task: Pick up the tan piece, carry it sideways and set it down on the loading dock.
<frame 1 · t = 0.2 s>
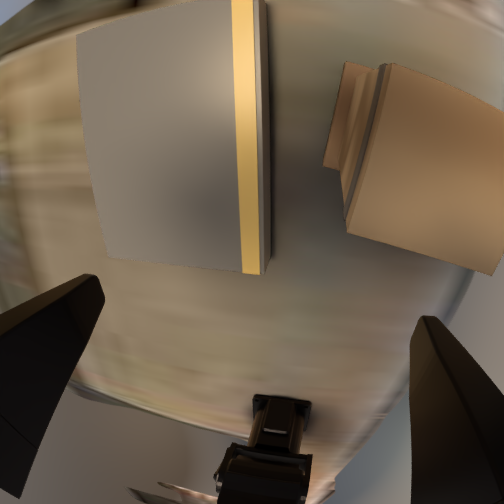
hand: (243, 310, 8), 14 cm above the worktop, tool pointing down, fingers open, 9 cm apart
tan piece: (387, 127, 18), on the worktop
loading dock: (177, 136, 21), on the worktop
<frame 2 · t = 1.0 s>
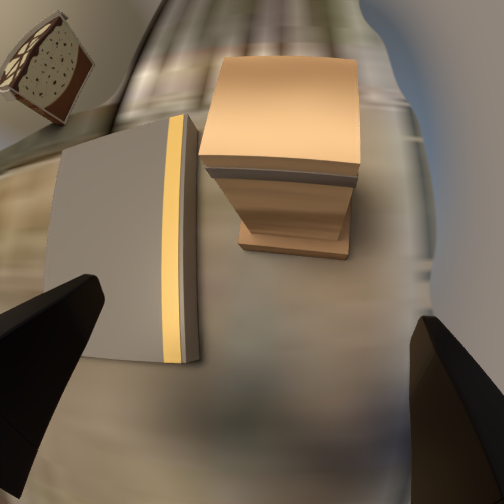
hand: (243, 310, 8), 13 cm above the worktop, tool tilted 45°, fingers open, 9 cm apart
tan piece: (298, 209, 22), on the worktop
loading dock: (121, 242, 24), on the worktop
food container: (64, 97, 31), on the worktop
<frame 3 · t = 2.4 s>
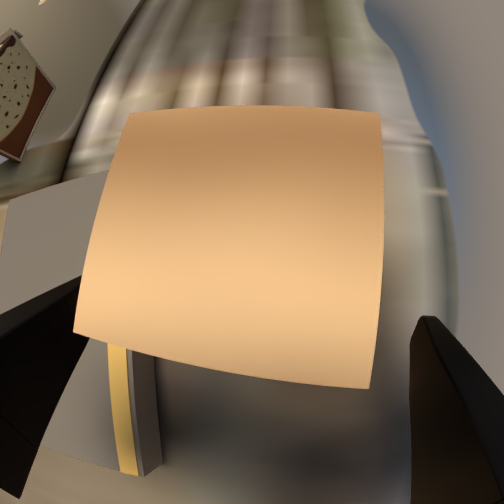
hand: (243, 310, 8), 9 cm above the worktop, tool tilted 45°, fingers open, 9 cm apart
tan piece: (281, 296, 17), on the worktop
loading dock: (72, 319, 19), on the worktop
food container: (24, 127, 26), on the worktop
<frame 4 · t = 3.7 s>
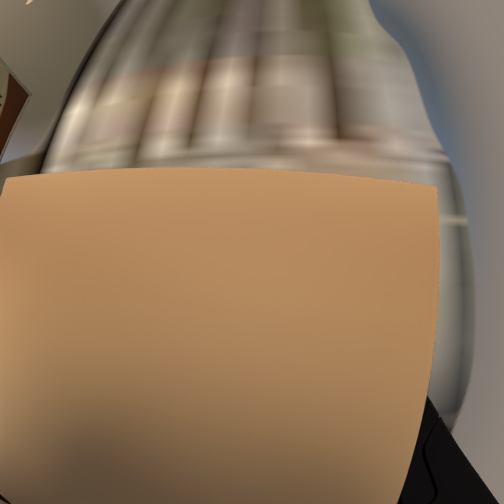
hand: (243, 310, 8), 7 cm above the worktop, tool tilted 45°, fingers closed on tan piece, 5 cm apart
tan piece: (268, 348, 14), on the worktop, touching gripper
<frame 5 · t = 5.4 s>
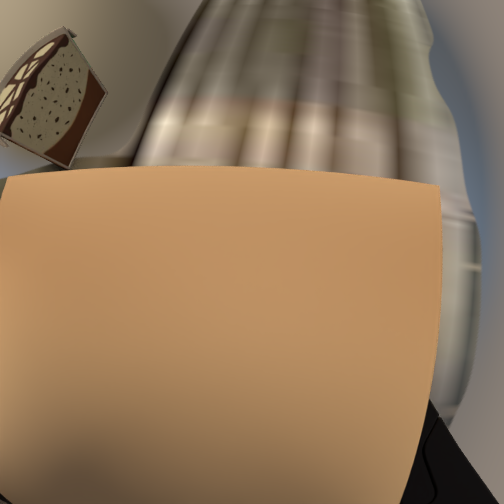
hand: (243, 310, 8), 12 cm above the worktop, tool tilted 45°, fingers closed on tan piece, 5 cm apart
tan piece: (269, 348, 14), point 6 cm above the worktop, touching gripper
food container: (71, 130, 28), on the worktop
when the fingers open (10 cm above the worktop, at t = 7.0 s): tan piece drops 1 cm, resting on loading dock.
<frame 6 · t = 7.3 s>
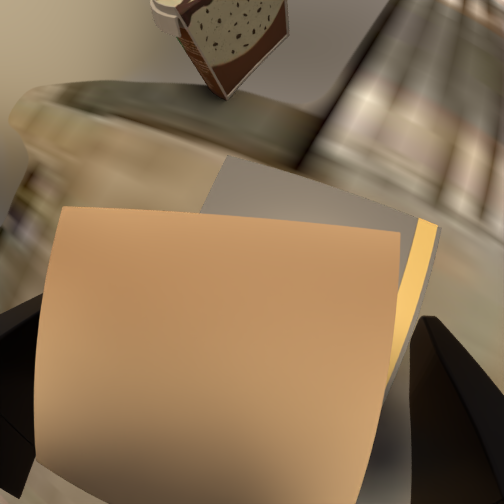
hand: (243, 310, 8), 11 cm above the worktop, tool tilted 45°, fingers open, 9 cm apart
tan piece: (272, 346, 15), point 2 cm above the worktop, touching loading dock
loading dock: (276, 344, 18), on the worktop
food container: (232, 57, 24), on the worktop
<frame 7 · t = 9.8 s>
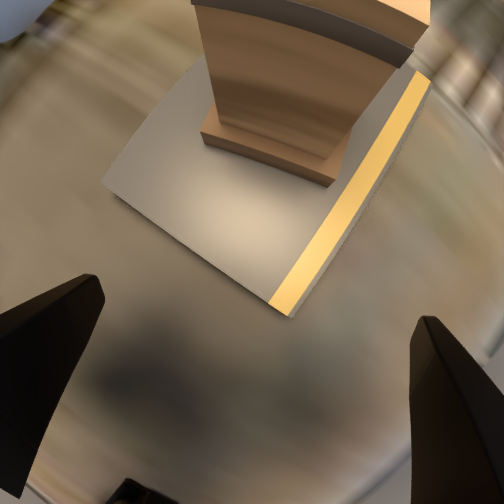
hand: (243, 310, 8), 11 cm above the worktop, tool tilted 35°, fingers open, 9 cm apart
tan piece: (285, 113, 17), point 2 cm above the worktop, touching loading dock
loading dock: (280, 131, 19), on the worktop
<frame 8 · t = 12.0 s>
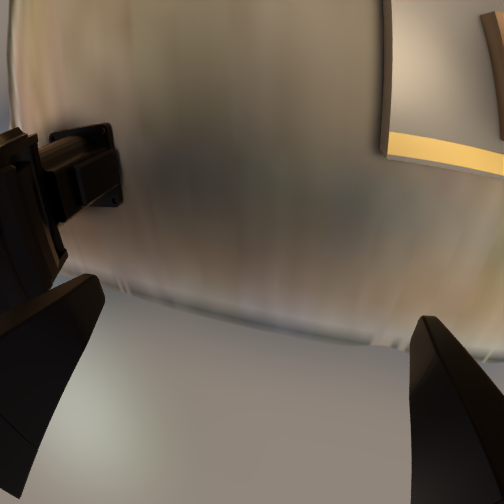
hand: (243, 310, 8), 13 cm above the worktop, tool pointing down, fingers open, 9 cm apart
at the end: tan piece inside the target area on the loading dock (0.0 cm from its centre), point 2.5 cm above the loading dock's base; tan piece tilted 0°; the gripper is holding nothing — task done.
